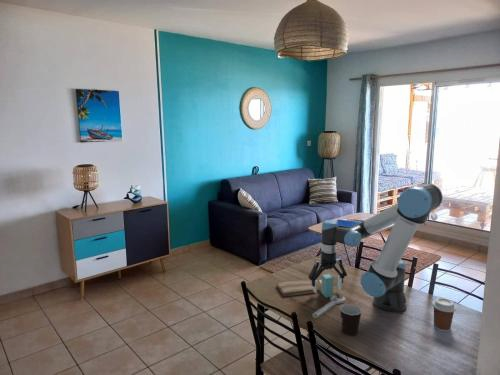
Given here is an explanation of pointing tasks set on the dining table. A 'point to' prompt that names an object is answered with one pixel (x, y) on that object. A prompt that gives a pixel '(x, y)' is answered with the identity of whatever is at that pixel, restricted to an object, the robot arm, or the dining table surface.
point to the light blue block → (327, 285)
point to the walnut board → (295, 287)
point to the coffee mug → (350, 319)
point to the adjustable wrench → (328, 306)
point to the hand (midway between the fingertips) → (327, 290)
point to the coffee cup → (443, 313)
